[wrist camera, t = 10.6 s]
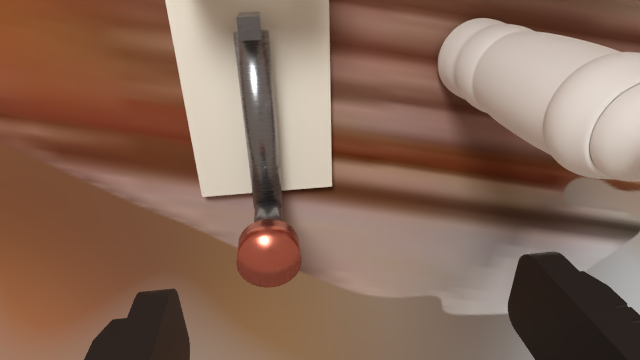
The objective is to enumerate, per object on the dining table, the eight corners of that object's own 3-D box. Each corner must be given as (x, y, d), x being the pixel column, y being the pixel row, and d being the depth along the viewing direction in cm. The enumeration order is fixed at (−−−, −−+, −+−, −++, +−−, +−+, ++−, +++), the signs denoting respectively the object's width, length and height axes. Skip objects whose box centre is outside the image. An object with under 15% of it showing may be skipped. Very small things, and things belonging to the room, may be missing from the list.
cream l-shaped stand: (145, -125, 29) (98, -160, 21) (325, -126, 30) (346, -160, 22) (203, 192, 41) (188, 246, 33) (330, 181, 42) (345, 232, 34)
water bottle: (424, 87, 39) (631, 242, 17) (450, 8, 36) (744, 74, 14) (490, 100, 40) (759, 259, 18) (520, 26, 37) (887, 110, 15)
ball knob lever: (218, 12, 32) (199, 29, 24) (281, 9, 33) (286, 25, 24) (246, 221, 42) (240, 290, 33) (294, 217, 42) (302, 284, 33)
